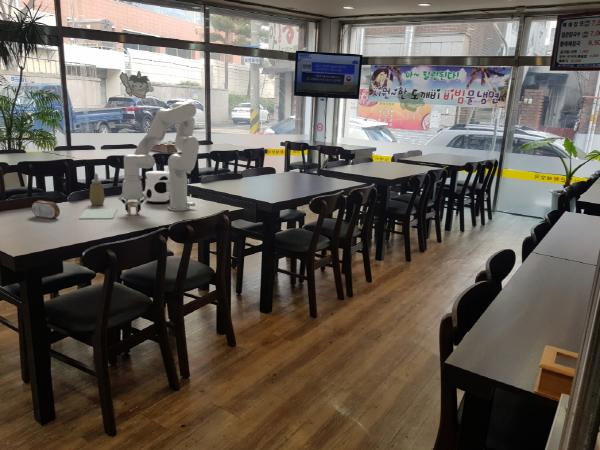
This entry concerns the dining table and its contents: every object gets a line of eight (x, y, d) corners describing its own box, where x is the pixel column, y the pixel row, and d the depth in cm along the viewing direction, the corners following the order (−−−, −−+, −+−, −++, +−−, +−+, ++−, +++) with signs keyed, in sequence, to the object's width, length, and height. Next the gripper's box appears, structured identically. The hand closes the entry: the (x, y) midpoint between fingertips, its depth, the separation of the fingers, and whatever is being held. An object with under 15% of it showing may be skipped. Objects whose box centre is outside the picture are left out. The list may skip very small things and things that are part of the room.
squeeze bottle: (107, 204, 282) (106, 173, 278) (100, 206, 274) (99, 175, 270) (94, 203, 282) (92, 172, 278) (87, 205, 275) (85, 174, 270)
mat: (117, 209, 268) (117, 208, 268) (112, 218, 248) (112, 217, 247) (86, 210, 264) (85, 208, 264) (79, 219, 243) (78, 218, 243)
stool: (138, 212, 263) (138, 201, 262) (137, 214, 259) (137, 203, 257) (128, 213, 262) (128, 201, 260) (128, 215, 257) (127, 203, 256)
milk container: (144, 199, 301) (143, 170, 297) (173, 199, 306) (172, 170, 302) (144, 204, 285) (143, 174, 281) (174, 204, 290) (174, 174, 286)
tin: (60, 218, 243) (59, 202, 241) (56, 220, 240) (54, 203, 238) (35, 215, 246) (34, 199, 244) (31, 216, 243) (29, 200, 241)
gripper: (149, 177, 261) (150, 210, 266) (115, 176, 257) (117, 210, 261) (148, 179, 254) (149, 213, 259) (114, 179, 250) (115, 213, 254)
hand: (133, 211), depth 260 cm, fingers closed on stool, 5 cm apart
